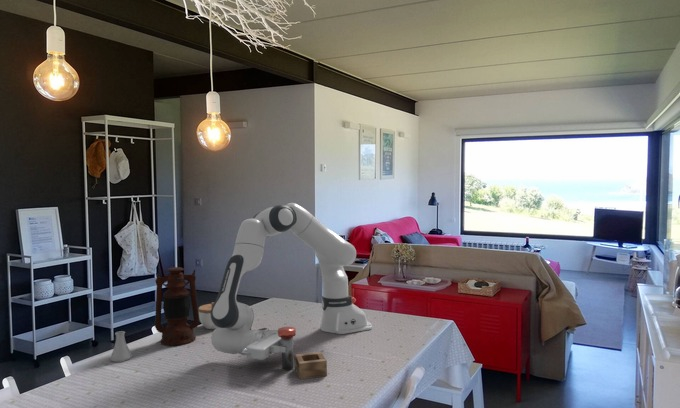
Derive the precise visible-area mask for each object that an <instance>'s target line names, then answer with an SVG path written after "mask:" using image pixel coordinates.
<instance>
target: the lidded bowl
mask: <svg viewBox="0 0 680 408" xmlns="http://www.w3.org/2000/svg"><path fill="white" fill-rule="evenodd" d="M214 302H215V301H214ZM214 302H213V301H212V302H211V303H207V304H202V305H200V306H199V307H198V313H199V323H201V325H202V326H203V327H204V329H208V330H215V329H216V328H218V327H217V326H216V325H214V323H213V322H212V320H211V309H212V306H213V304H214Z"/></svg>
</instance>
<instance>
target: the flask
mask: <svg viewBox="0 0 680 408" xmlns="http://www.w3.org/2000/svg"><path fill="white" fill-rule="evenodd" d="M125 333H126V331H124V330H121V331H116V332H115V333H114V335H115V342H114V343H115V344H114V346H113V349H112V350H113V351H112V353H111V356H110V359H109V361H111V362H114V363H115V362H117V363H118V362H119V363H122V362H125V361H128V360H130V359H132V358H133V354H132V353H131V350H130V348H129V347H128V344H127V342H126V338H125Z"/></svg>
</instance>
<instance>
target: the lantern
mask: <svg viewBox="0 0 680 408" xmlns="http://www.w3.org/2000/svg"><path fill="white" fill-rule="evenodd" d="M184 270H185V269H184V268H183V267H179V266H177V267H176V266H175V267H174V266H173V267H169V268H167V269H166V272H169V273H168V274H167V275H164V276H160V275H159V274H158V272H156V273H155V275H156V277H157V278H155V281H154V282H155V285H156V291H155V292H156V293H155V294H156V295H155V296H156V297H155V317H154V318H155V320H154V323H155V324H154V328H155V329H156V331H157V332H158V333H161V339H160V341H159V343H160V345H161V346H163V347H164V346H165V347H178V346H179V347H180V346H185V345H187V344H188V345H189V344H191V343H193V342H194V341H196V336H195V334H194V329H196V328H197V327H198V326H199V324H200V319H199V311H198V308H199V307H198V304H199V303H198V297H197V288H196V287H197V286H196V279H197V277H196V269H194V270H193V272H192V274H184V272H182V271H184ZM185 281H187V282H185ZM187 285H189V290H190V291H189V290H188V289H186V288H185V287H186V286H187ZM163 286H164V287H165V288H167V290H166V291H164V292H163ZM189 295H190V297H189ZM190 299H191V300H190ZM162 302H163V303H162ZM162 304H163V305H162ZM191 306H192V315H193V323H191V324H188V322H187V321H188V318H189V317H190V307H191ZM162 308H163V309H162ZM162 310H163V314H164V319H165V320H167V321H166V322H167V326H166V327H163V326H162V325H161V324H162Z"/></svg>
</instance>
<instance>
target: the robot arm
mask: <svg viewBox="0 0 680 408" xmlns="http://www.w3.org/2000/svg"><path fill="white" fill-rule="evenodd" d="M287 231H290V232H291V233H293V235H294V236H295V237H297V238H298V239H299V240H300V241H302V242H303V243H304V244H305V245H306V246H307V247H309V248H311V249H313V251H314V255H315V257H316V258H317V262H318V265H319V268H320V273H321V279H322V296H321V308H322V316H321V317H322V319H321V323H320V327H319V329H320V331H322V332H326V333H333V334H337V335H344V334H351V333H357V332H362V331H368V330H372V329H373V325H372V323H371V322H370V321H368V319H367V315H366V313H365V312H364V311H363V310H362V309H361V308H359V307H358V306H357V305H355V304H354V303H356V301H357V299H356V298H355V297H354V296H352V295H349V279H348V278H349V277H348V275H347V273H346V270H345V268H344V267H348V266H350V265H352V264H353V263H354V262H355V261H356V258H357V250H356V248H355V245H353V244H352V243H350V242H348V241H347V240H346V239H344V238H343V237H342V236H340V235H339V234H338V233H336V232H334V231H333V230H331V229H330V228H328V227H327V226H326V225H324V224H323V223H322V222H321V221H320V220H318V218H316V217H315V216H314V215H313V214H312V213H311V212H309V211H308V210H307V209H305V208H304V207H303V206H301V205H300V204H297V203H295V202H288V203H286V204H285V205H284V204H278V205H274V206H271V207H268V208H265V209H264V210H263V211H259V212H258V213H256V214H255V215H254V216H253V218H247V219H245V220H243V221H242V222H241V223H240V226H239V228H238V230H237V235H236V239H235V243H234V248H233V252H232V255H231V257H230V258H229V260H228V261H227V264H226V267H225V270H224V274H223V276H222V280H221V284H220V287H219V289H218V290H219V291H218V294H217V297H216V298H215V301H214V304H213V306H212V309H211V320H212V322H213V323H214V325H216V326H217V327H218V328H216V329H213V331H212V332H211V337H210V340H211V345H212V346H213V348H214V350H216V351H218V352H219V353H224V354H228V355H229V354H230V355H236V354H237V355H238V354H240V355H242V356H245V357H247V358H249V359H252V360H259V361H261V360H262V361H263V360H266V359H267V358H268V357H270V356H271V355H273V354H277V353H281V352H286V351H287V346H281V337H279V336H278V329H270V328H269V327H263V328H259V329H252V326H253V323H254V319H255V313H254V309H253V308H252V307H251V306H250V305H248V304H247V303H246V304H245V303H242V302H239V301H238V300H237V296H238V290H239V287H240V283H241V280H242V277H243V275H244V274H245V273H246V272H250V271H252V270H255V269H256V268H258V267H259V266H260V265H261V262H262V261H263V260H262V259H264V258H263V257H264V251H265V243H266V239H267V238H269V237H273V236H278V235H280V234H281V233H285V232H287ZM294 344H295V342H294V341H293V347H294V346H295V345H294Z"/></svg>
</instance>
